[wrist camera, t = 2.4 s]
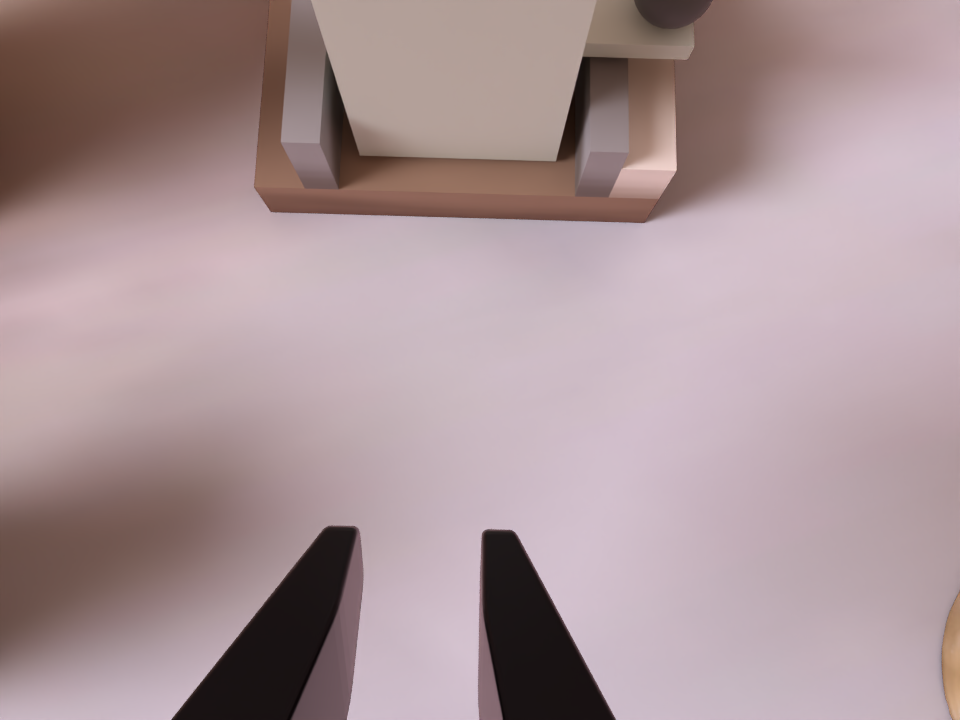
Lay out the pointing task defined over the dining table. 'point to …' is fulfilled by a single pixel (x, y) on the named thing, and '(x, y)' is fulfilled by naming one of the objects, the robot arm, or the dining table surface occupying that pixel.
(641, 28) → the carriage
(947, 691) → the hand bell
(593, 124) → the stand
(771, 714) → the dining table surface
